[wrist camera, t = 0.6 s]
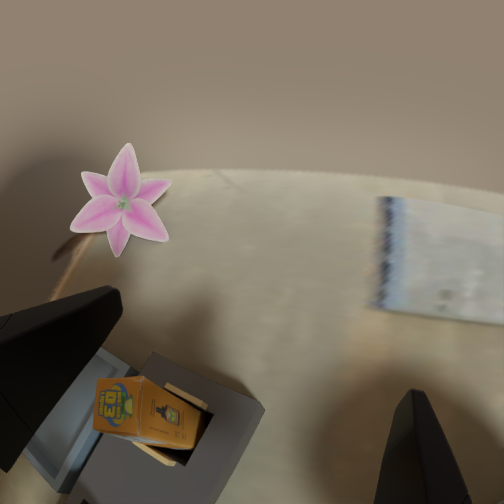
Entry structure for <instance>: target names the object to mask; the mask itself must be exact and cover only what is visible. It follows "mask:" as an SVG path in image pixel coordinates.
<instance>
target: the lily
mask: <svg viewBox="0 0 504 504" xmlns="http://www.w3.org/2000/svg"><path fill="white" fill-rule="evenodd" d="M81 176H82V179H83V182H84V184H85V186H86V188H87V190H88V192H89V193H90V195H91V196H92V198H93V199H91V200H90V201H89V202H88V203H87V204H86V205H85V206H84V207H83V208H82V210H81V211H80V212H79V213H78V214H77V216H76V217H75V219H74V220H73V222H72V224H71V226H70V230H71V231H72V232H78V233H93V232H102V231H106V232H107V237H108V241H109V244H110V247H111V249H112V252H113V254H114V256H115V257H116V258H117V257H119V256H120V255H121V253H122V251H123V249H124V248H125V246H126V244H127V242H128V239H129V237H130V235H131V234H132V235H135V236H137V237H141V238H144V239H148V240H153V241H158V242H166V241H168V240H169V236H168V233H167V231H166V229H165V227H164V225H163V223H162V221H161V220H160V218H159V216H158V215H157V213H156V211H155V210H154V208H153V207H152V205H151V204H153V203H154V202H155V201H156V200H157V199H158V198H159V197H160V196H161V195H162V194H163V193H164V192H165V191H166V190H167V189H168V187H169V186H170V185H171V182H172V181H171V180H168V179H145V180H141V176H140V171H139V167H138V163H137V159H136V155H135V152H134V149H133V146H132V144H130V143H127V144H126V145H125V146H124V147H123V148H122V149H121V151H120V152H119V154H118V155H117V157H116V159H115V161H114V162H113V164H112V166H111V168H110V170H109V173H108V176H104V175H101V174H97V173H92V172H82V173H81Z"/></svg>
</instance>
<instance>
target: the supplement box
mask: <svg viewBox="0 0 504 504" xmlns="http://www.w3.org/2000/svg"><path fill="white" fill-rule="evenodd" d="M92 428H93V429H94V430H96V431H99V432H101V433H105V434H108V435H111V436H115V437H119V438H122V439H126V440H130V441H134V442H137V443H141V444H145V445H150V446H155V447H160V448H165V449H172V450H184V451H194V450H195V448H196V447H197V445H198V443H199V441H200V439H201V438H202V436H203V434H204V432H205V421H204V413H203V412H202V411H200V410H198V409H196V408H194V407H193V406H191V405H189V404H187V403H186V402H184V401H182V400H180V399H179V398H177V397H175V396H174V395H172V394H170V393H169V392H167V391H166V390H164V389H162V388H161V387H159V386H157V385H156V384H154V383H153V382H151V381H150V380H149V379H147V378H146V377H144V376H134V377H122V378H98V380H97V387H96V396H95V406H94V416H93V427H92Z"/></svg>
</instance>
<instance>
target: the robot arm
mask: <svg viewBox="0 0 504 504" xmlns="http://www.w3.org/2000/svg"><path fill="white" fill-rule="evenodd" d="M122 312H123V306H122V301H121V295H120V291H119V290H118V289H117V288H114V287H112V286H110V285H107V286H103V287H100V288H96V289H93V290H89V291H86V292H82V293H79V294H75V295H72V296H69V297H65V298H62V299H58V300H55V301H52V302H48V303H45V304H41V305H38V306H35V307H31V308H28V309H25V310H21V311H18V312H15V313H11V314H8V315H4V316H1V317H0V468H1V469H2V470H3V471H4V472H6V473H8V471H9V470H10V469H11V467H12V466H13V464H14V463H15V462H16V460H17V459H18V457H19V456H20V454H21V453H22V451H23V450H24V449H25V447H26V446H27V444H28V443H29V441H30V440H31V439H32V437H33V436H34V434H35V433H36V431H37V430H38V429H39V427H40V426H41V424H42V423H43V422H44V420H45V419H46V418H47V416H48V415H49V414H50V412H51V411H52V410H53V408H54V407H55V406H56V404H57V403H58V402H59V400H60V399H61V398H62V396H63V395H64V394H65V392H66V391H67V390H68V388H69V387H70V386H71V384H72V383H73V382H74V381H75V379H76V378H77V377H78V375H79V374H80V373H81V372H82V370H83V369H84V368H85V367H86V365H87V364H88V363H89V362H90V360H91V359H92V358H93V357H94V355H95V354H96V353H97V351H98V350H99V349H100V347H101V346H102V344H103V343H104V341H105V340H106V338H107V337H108V335H109V333H110V332H111V330H112V329H113V327H114V326H115V324H116V323H117V321H118V320H119V318H120V317H121V315H122ZM373 504H473V503H472V500H471V498H470V495H469V494H468V490H467V487H466V485H465V482H464V479H463V477H462V474H461V472H460V469H459V467H458V465H457V462H456V460H455V457H454V455H453V453H452V450H451V448H450V446H449V443H448V441H447V439H446V436H445V434H444V432H443V430H442V428H441V425H440V423H439V421H438V419H437V417H436V415H435V412H434V410H433V408H432V406H431V404H430V402H429V400H428V398H427V396H426V394H425V392H424V391H422V390H417V389H410V390H409V391H408V392H407V393H406V395H405V396H404V397H403V399H402V400H401V401H400V403H399V404H398V406H397V407H396V410H395V413H394V417H393V422H392V426H391V430H390V434H389V437H388V441H387V445H386V448H385V452H384V456H383V460H382V465H381V470H380V475H379V480H378V485H377V490H376V495H375V499H374V503H373Z"/></svg>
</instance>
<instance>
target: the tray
mask: <svg viewBox="0 0 504 504" xmlns="http://www.w3.org/2000/svg"><path fill="white" fill-rule="evenodd" d="M139 374H140V373H139V372H138V371H136V370H135V369H133V368H132V367H131V366H129V365H128V364H126V363H125V362H123V361H121V360H120V359H118V358H117V357H115V356H114V355H112V354H111V353H109V352H108V351H106V350H105V349H103V348H102V347H100V349H99V350H98V351H97V353H96V354H95V355H94V357H93V358H92V359H91V360H90V362H89V363H88V364H87V365H86V367H85V368H84V369H83V370H82V372H81V373H80V374H79V375H78V377H77V378H76V379H75V381H74V382H73V383H72V384H71V386H70V387H69V388H68V390H67V391H66V392H65V394H64V395H63V396H62V398H61V399H60V400H59V402H58V403H57V404H56V406H55V407H54V408H53V410H52V411H51V412H50V414H49V415H48V416H47V418H46V419H45V420H44V422H43V423H42V424H41V426H40V427H39V429H38V430H37V431H36V433H35V434H34V436H33V437H32V439H31V440H30V441H29V443H28V444H27V446H26V447H25V449H24V450H23V451H22V453H23V454H24V455H25V457H26V458H27V459H28V460H29V461H30V463H31V464H32V465H33V466H34V467H35V469H36V470H37V471H38V472H39V473H40V474H41V476H42V477H43V478H44V479H45V480H46V481H47V482H48V483H49V484H50V485H51V487H52V488H53V489H54V490H55V491H56V492H57V493H66V494H70V492H71V491H72V489H73V487H74V485H75V483H76V481H77V480H78V478H79V476H80V474H81V473H82V471H83V469H84V467H85V465H86V464H87V462H88V460H89V458H90V457H91V455H92V453H93V451H94V450H95V448H96V446H97V444H98V443H99V441H100V439H101V438H102V436H103V434H104V433H101V432H99V431H96V430H94V429H93V428H92V427H93V416H94V406H95V396H96V387H97V380H98V378H122V377H134V376H138V375H139Z"/></svg>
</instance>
